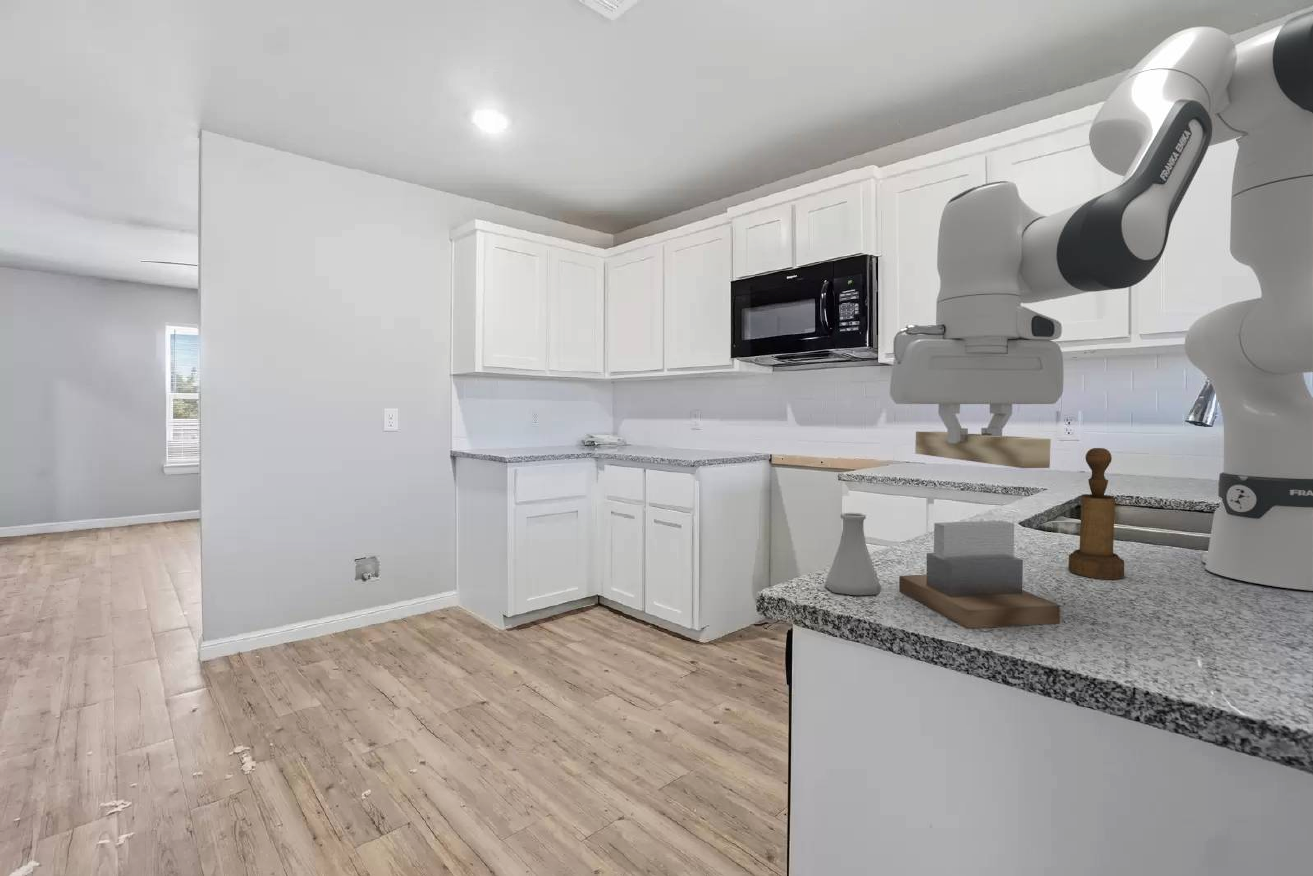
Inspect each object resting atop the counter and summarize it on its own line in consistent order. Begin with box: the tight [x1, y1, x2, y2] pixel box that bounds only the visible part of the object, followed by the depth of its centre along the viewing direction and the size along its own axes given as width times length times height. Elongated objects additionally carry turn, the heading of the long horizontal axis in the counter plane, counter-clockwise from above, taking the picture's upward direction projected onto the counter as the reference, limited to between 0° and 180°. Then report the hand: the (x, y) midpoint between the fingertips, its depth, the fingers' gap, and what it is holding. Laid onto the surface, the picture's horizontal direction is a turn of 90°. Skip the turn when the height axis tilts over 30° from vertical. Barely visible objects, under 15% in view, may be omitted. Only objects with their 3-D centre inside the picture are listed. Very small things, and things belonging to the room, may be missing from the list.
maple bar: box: [914, 430, 1052, 469], centre depth 73 cm, size 20×3×3 cm, turn 8°
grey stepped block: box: [926, 520, 1024, 597], centre depth 73 cm, size 9×5×8 cm, turn 98°
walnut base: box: [898, 574, 1061, 629], centre depth 74 cm, size 11×14×2 cm
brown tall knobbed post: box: [1067, 447, 1125, 580], centre depth 87 cm, size 7×6×18 cm
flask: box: [824, 512, 882, 596], centre depth 81 cm, size 7×7×10 cm
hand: (974, 443), depth 73 cm, fingers closed on maple bar, 3 cm apart
